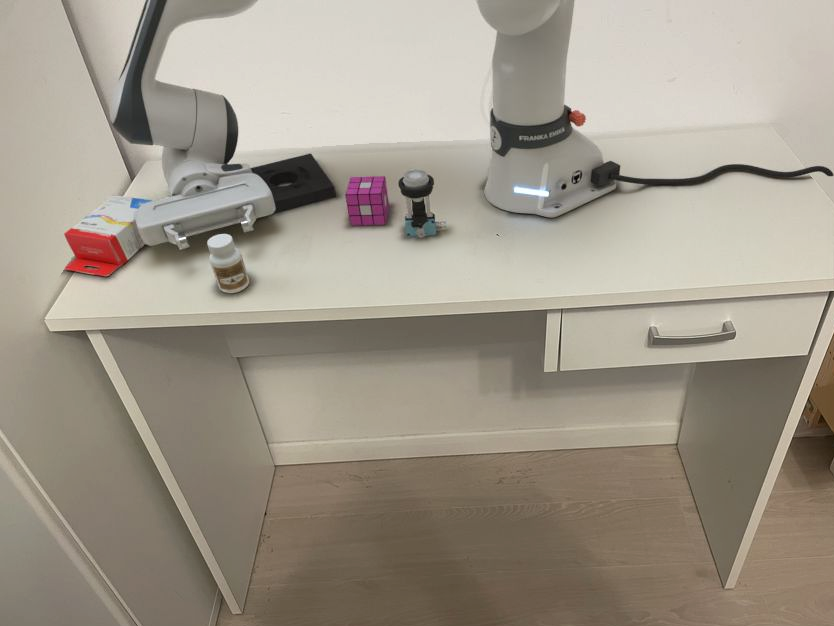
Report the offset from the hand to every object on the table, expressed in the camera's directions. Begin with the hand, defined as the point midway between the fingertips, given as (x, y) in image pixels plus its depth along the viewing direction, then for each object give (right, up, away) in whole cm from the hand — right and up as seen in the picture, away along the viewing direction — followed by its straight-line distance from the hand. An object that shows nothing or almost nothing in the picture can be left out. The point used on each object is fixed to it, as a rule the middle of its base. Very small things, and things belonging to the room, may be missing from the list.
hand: (215, 236), depth 101 cm
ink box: (-17, +6, +12) cm, 21 cm away
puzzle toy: (+21, +5, +12) cm, 25 cm away
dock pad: (+5, +12, +20) cm, 24 cm away
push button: (+30, +2, +8) cm, 31 cm away
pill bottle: (+3, -7, 0) cm, 8 cm away
